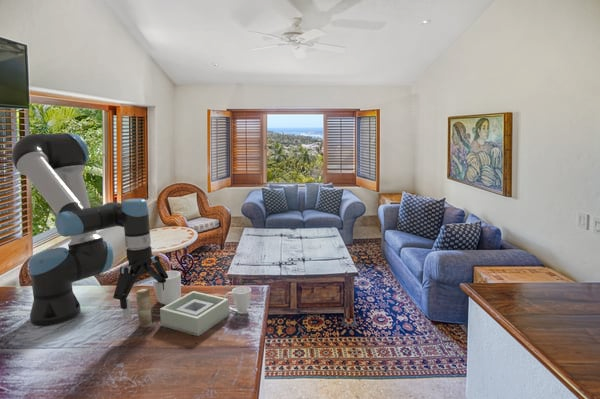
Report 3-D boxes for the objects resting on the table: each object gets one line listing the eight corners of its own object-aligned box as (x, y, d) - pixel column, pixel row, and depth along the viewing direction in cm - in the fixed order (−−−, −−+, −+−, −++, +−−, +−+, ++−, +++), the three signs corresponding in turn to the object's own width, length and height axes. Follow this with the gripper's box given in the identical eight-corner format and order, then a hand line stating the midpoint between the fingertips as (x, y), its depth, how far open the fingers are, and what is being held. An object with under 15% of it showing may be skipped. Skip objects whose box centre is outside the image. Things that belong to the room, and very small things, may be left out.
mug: (172, 293, 157) (170, 269, 155) (187, 299, 152) (185, 273, 150) (148, 303, 148) (145, 277, 147) (162, 309, 143) (160, 282, 141)
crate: (161, 325, 132) (159, 308, 131) (194, 306, 146) (193, 291, 145) (198, 336, 125) (197, 318, 124) (229, 315, 139) (228, 298, 138)
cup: (250, 315, 138) (249, 294, 136) (222, 315, 139) (220, 293, 137) (254, 306, 145) (253, 286, 143) (227, 306, 145) (226, 285, 144)
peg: (136, 326, 131) (133, 292, 129) (146, 321, 135) (143, 288, 133) (145, 329, 130) (142, 294, 127) (154, 323, 133) (151, 290, 131)
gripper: (113, 259, 115) (120, 327, 118) (175, 238, 137) (180, 296, 140) (96, 256, 118) (103, 322, 122) (159, 236, 140) (164, 292, 144)
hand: (144, 308), depth 131 cm, fingers open, 13 cm apart
